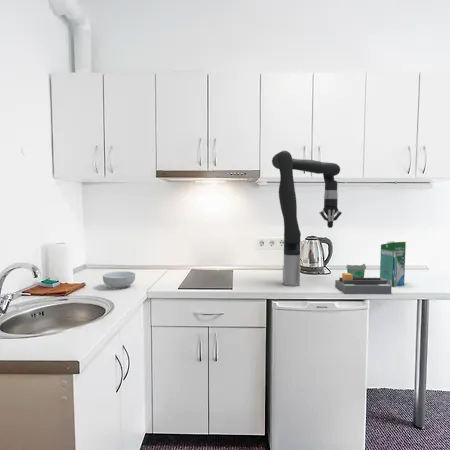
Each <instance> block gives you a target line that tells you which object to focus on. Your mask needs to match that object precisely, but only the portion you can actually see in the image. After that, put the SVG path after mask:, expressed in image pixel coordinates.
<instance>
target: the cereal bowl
mask: <svg viewBox="0 0 450 450" xmlns="http://www.w3.org/2000/svg"><path fill="white" fill-rule="evenodd" d="M135 279H136V273H135V272H133V271H125V270H124V271H121V270H120V271H119V270H118V271H110V272H107V273H104V274H103V275H102V281H103V283H104V284H105V286H108V287H111V288H112V289H116V290H117V289H124V288H127V287H128V286H130V285H132V284H133V283H134V282H135Z"/></svg>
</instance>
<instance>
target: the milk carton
mask: <svg viewBox="0 0 450 450" xmlns="http://www.w3.org/2000/svg"><path fill="white" fill-rule="evenodd" d="M406 243H407V242H406V241H395V240H391V241H387V242H386V243H382V244H380V262H379V263H380V264H379V265H380V266H379V278H381V280H386V281H387V284H388V285H390V286H392V287H402V286H405V272H406V249H407V248H406V247H407V245H406Z"/></svg>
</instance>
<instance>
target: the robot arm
mask: <svg viewBox="0 0 450 450" xmlns="http://www.w3.org/2000/svg"><path fill="white" fill-rule="evenodd" d="M271 163H272V166H273V167H274V168H275V169H277V170H279V175H280V180H279V186H278V187H279V188H278V199H279V205H280V210H281V214H282V218H283V229H284V230H283V266H282V284H283V285H284V286H288V287H289V286H290V287H296V286H300V285H301V284H300V283H301V237H302V236H301V235H302V234H301V231H300V227H299V226H300V225H299V222H298V215H297V214H298V212H297V211H298V210H297V209H298V207H297V206H298V205H297V197H296V196H297V195H296V188H295V181H294V172H293V171H294V170H296V171H302V172H307V173H313V174H316V175H317V174H318V175H320V174H322V176H323V180H324V194H323V195H324V196H323V206H324V207H323V208H322V210H321V211H319V215H320V216H321V218H323V220H324V221H326V222H327V227H328V228H329V229H333V227H334V221H337V220H338V218H339V217H340V216H341V215H342V214H343V213H342V211H340V210H339V209H338V201H339V200H338V195H339V193H338V180H335V176H338V174H340V173H341V167H340V165H339V164H338V163H334V162H325V161H319V160H313V159H301V158H293V157H292V154H291V153H290V152H289V151H288V150H282V151H281V150H280V152H277V153H276V154H275V155H273V157H272V159H271Z"/></svg>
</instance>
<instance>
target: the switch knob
mask: <svg viewBox="0 0 450 450" xmlns="http://www.w3.org/2000/svg"><path fill="white" fill-rule="evenodd" d="M341 278H342V281H343V282H344V280H353V275H352V274H350V273H347V272H342V274H341Z"/></svg>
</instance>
